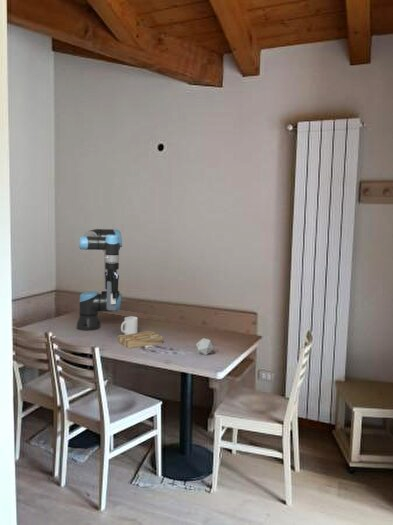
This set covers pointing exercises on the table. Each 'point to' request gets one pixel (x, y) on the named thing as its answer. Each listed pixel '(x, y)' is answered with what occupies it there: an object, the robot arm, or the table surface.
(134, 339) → the port block
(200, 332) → the table surface
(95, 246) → the robot arm
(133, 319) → the mug
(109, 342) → the table surface
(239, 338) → the table surface
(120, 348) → the table surface
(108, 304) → the plug
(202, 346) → the die
